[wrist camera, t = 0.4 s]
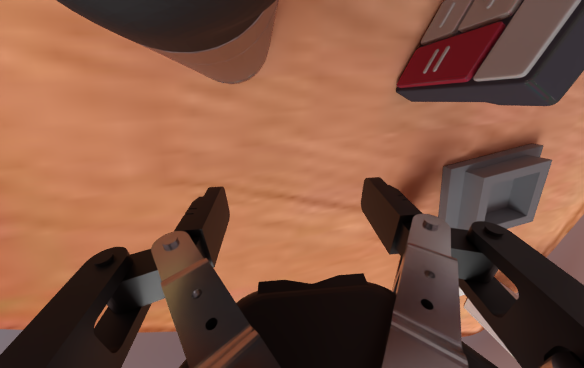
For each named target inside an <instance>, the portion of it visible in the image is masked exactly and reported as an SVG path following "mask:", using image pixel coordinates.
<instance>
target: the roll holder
mask: <svg viewBox="0 0 584 368" xmlns="http://www.w3.org/2000/svg"><path fill="white" fill-rule="evenodd" d="M542 149H543V145H538V144H528V145H524V146H521V147H517V148H513V149H509V150H505V151H501V152H498V153H494V154H490V155H486V156H482V157H478V158H474V159H471V160H467V161H463V162H459V163H455V164H451V165H447V166H444V167H443V174H442V185H441V195H440V205H439V216H438V217H439V218H441V219H442V220H444V221H445V222H447V223H448V225H449V226H450V228H456V229H464V230H469V228H470V226H471V224H472V223H473V222H476V221H485V222H490V223H494V224H497V225H499V226H502V227H504V228H505V229H507V228H511V227H514V226H518V225H521V224H525V223H528V222H532V221H533V219H534V216H535V212H536V209H537V206H538V203H539V200H540V197H541V194H542V190H543V187H544V184H545V181H546V178H547V175H548V172H549V169H550V165H551V162H552V160H550V159H545V158H540V155H541V152H542Z"/></svg>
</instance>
